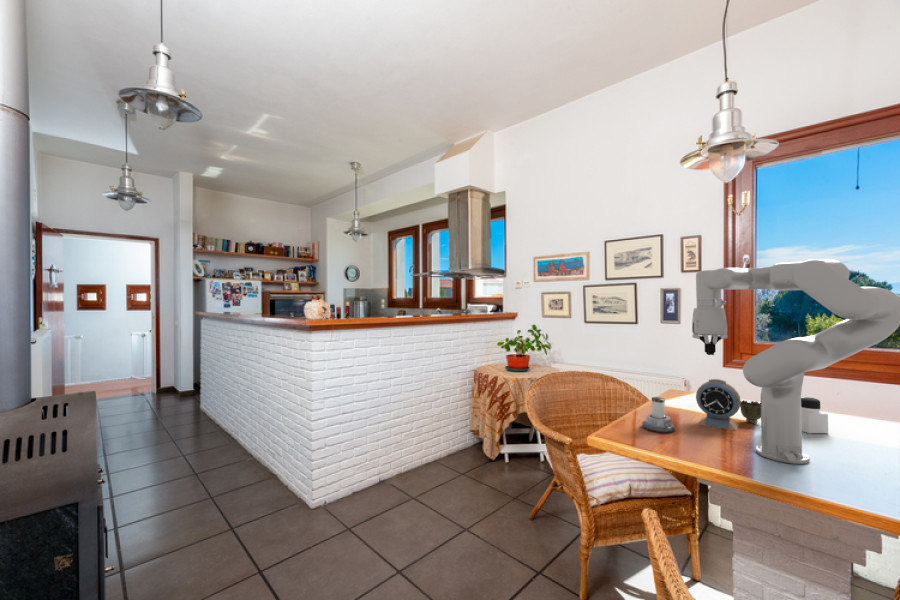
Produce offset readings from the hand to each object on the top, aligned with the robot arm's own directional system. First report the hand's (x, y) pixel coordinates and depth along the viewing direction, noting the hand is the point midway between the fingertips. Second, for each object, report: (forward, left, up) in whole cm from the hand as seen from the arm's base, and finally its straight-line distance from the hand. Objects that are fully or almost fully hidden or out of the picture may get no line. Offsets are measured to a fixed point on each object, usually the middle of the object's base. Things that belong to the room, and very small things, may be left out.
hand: (710, 354), depth 137 cm
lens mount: (+2, +17, -29) cm, 34 cm away
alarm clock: (+14, -6, -29) cm, 33 cm away
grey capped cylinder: (+2, +17, -28) cm, 32 cm away
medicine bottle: (+15, -35, -29) cm, 48 cm away
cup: (+20, -19, -29) cm, 40 cm away
